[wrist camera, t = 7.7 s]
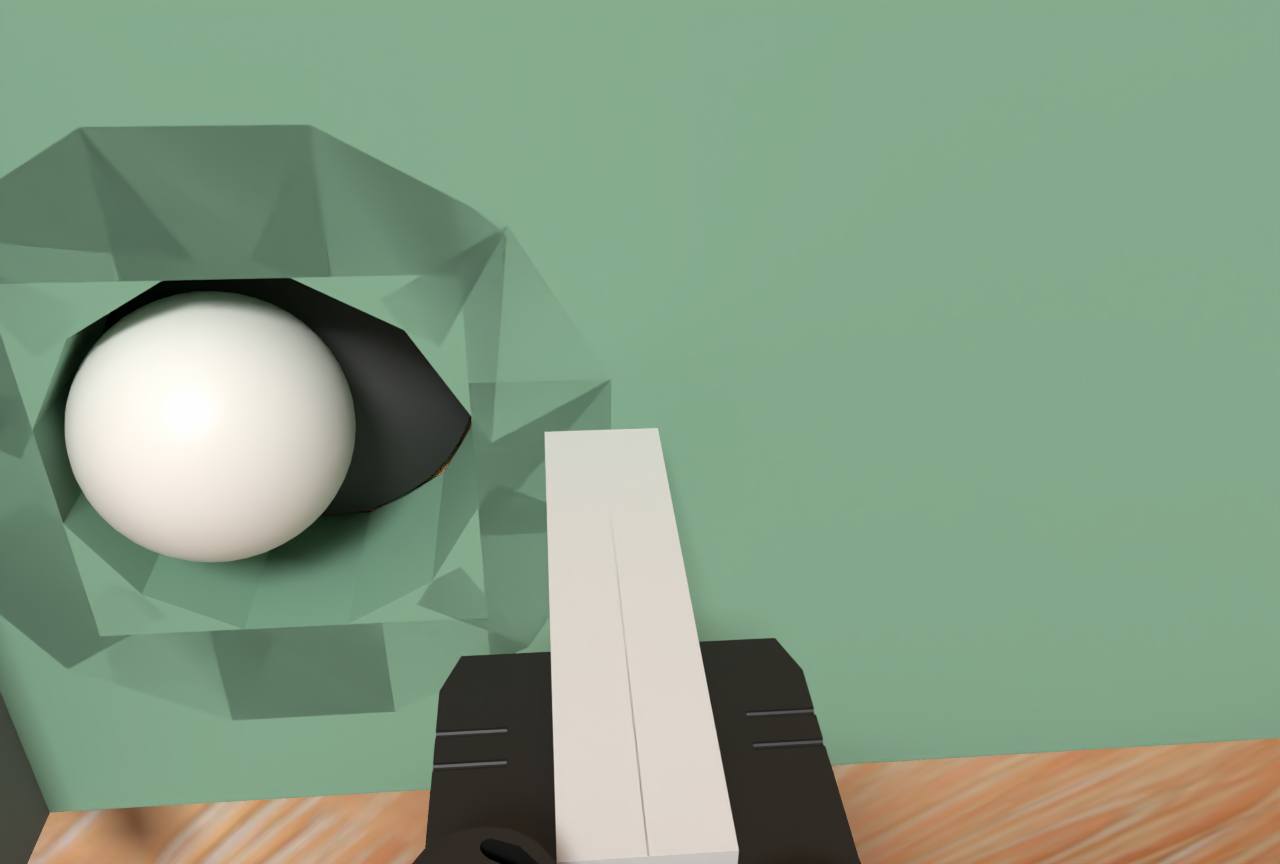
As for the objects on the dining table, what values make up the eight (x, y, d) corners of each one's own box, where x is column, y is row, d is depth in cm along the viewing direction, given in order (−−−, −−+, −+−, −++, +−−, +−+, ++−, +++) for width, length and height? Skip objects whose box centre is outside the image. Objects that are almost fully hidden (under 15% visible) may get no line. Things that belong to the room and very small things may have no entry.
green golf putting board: (-257, -93, 14) (-627, -12, 10) (1608, -85, 16) (2027, -15, 12) (41, 691, 22) (-87, 944, 17) (1294, 625, 24) (1476, 836, 19)
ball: (344, 261, 18) (81, 281, 17) (328, 307, 14) (-9, 336, 13) (373, 490, 19) (130, 518, 18) (366, 588, 15) (61, 628, 15)
